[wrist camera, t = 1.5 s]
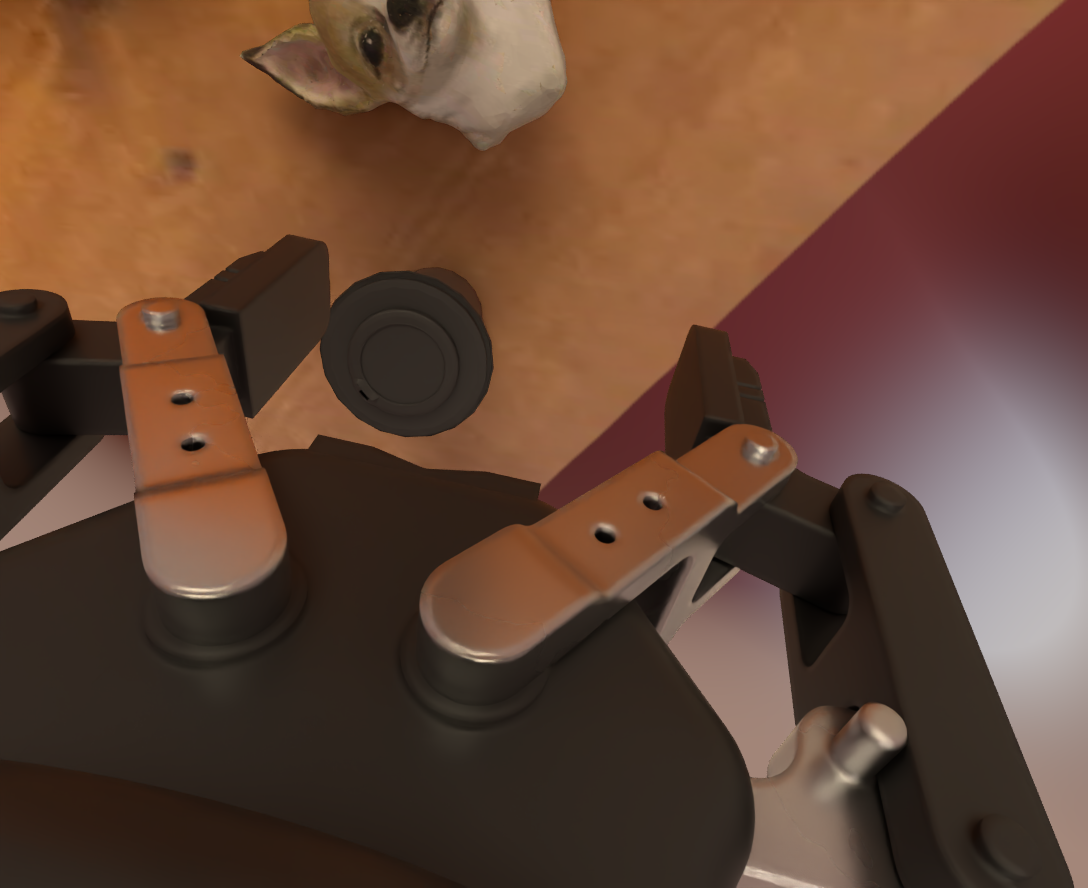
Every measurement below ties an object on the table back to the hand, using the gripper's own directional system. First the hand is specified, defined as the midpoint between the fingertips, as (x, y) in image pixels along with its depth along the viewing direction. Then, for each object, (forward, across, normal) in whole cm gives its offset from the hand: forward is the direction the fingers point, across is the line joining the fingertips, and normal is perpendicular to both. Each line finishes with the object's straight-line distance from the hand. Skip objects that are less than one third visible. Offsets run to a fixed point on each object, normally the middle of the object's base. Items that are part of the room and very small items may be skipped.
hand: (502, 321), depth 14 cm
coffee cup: (+22, +6, +12) cm, 25 cm away
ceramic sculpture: (+25, +9, -2) cm, 26 cm away
